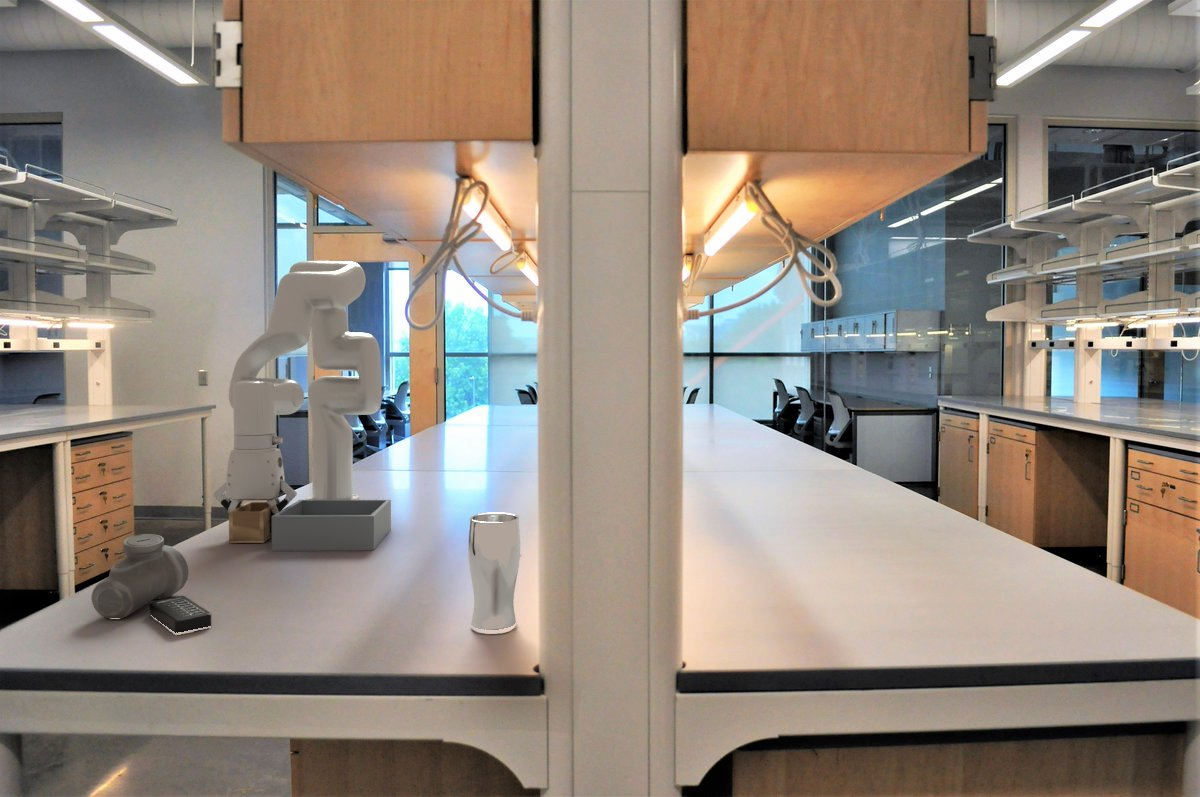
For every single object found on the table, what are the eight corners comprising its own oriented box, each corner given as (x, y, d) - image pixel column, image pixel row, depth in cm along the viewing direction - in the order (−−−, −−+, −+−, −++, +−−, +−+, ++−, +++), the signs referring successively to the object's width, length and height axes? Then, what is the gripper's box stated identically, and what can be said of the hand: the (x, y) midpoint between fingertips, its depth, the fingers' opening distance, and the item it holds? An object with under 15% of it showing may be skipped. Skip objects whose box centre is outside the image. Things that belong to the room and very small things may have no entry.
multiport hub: (175, 639, 95) (175, 621, 95) (149, 618, 103) (148, 601, 102) (212, 630, 98) (212, 613, 98) (183, 610, 106) (183, 594, 106)
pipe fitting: (140, 589, 112) (139, 525, 111) (190, 596, 112) (190, 531, 110) (78, 626, 101) (76, 555, 99) (135, 633, 100) (134, 562, 98)
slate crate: (299, 530, 154) (299, 499, 154) (390, 530, 156) (390, 499, 156) (271, 550, 138) (271, 516, 138) (373, 550, 140) (373, 516, 139)
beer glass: (515, 637, 97) (517, 523, 96) (462, 635, 97) (463, 522, 96) (522, 618, 104) (523, 512, 103) (473, 617, 104) (473, 511, 103)
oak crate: (249, 530, 153) (248, 501, 152) (281, 530, 153) (280, 501, 153) (229, 542, 143) (228, 512, 142) (263, 542, 143) (263, 512, 143)
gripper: (305, 440, 151) (306, 527, 152) (217, 440, 150) (218, 528, 151) (293, 445, 144) (294, 536, 145) (200, 445, 142) (202, 537, 143)
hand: (255, 531), depth 148 cm, fingers closed on oak crate, 6 cm apart
